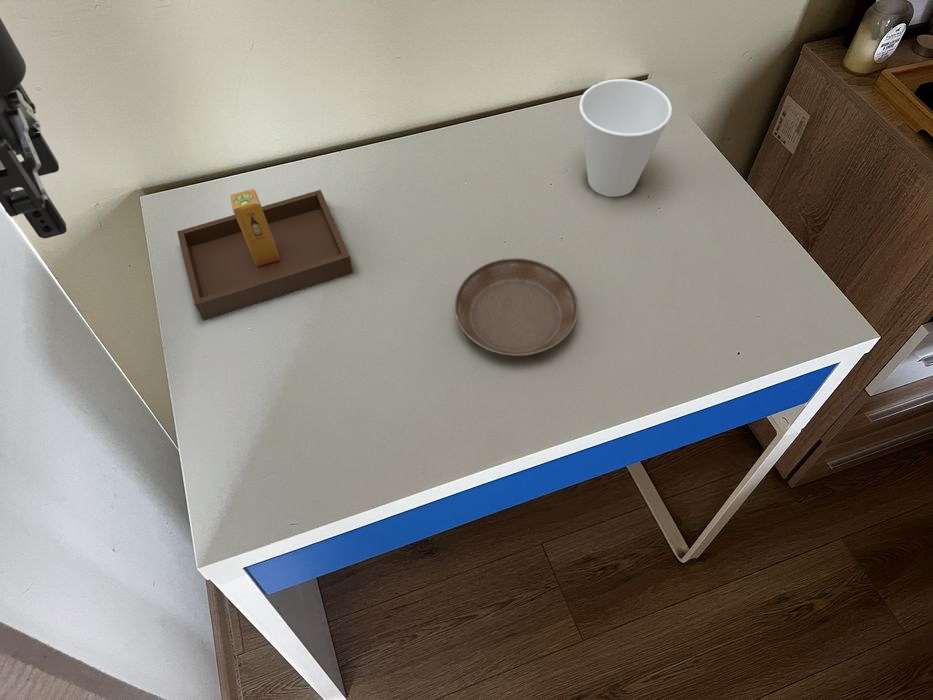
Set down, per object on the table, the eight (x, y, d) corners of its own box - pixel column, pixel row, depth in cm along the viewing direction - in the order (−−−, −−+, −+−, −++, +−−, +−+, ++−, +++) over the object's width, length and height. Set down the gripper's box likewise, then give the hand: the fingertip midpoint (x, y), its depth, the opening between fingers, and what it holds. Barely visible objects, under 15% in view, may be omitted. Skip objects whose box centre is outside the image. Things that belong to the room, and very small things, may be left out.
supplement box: (276, 243, 94) (256, 186, 86) (281, 261, 92) (260, 204, 84) (251, 250, 94) (228, 193, 85) (255, 268, 92) (232, 211, 83)
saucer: (532, 388, 80) (533, 375, 78) (431, 328, 86) (429, 314, 84) (598, 306, 87) (601, 292, 85) (501, 255, 93) (501, 241, 90)
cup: (651, 154, 103) (669, 79, 93) (656, 211, 96) (675, 137, 86) (570, 151, 104) (579, 76, 94) (569, 207, 97) (578, 133, 87)
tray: (203, 320, 88) (194, 304, 85) (185, 247, 95) (176, 231, 92) (353, 272, 92) (349, 256, 89) (324, 206, 99) (320, 189, 96)
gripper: (-118, -15, 51) (3, 164, 64) (-133, 90, 43) (8, 269, 56) (-8, -36, 53) (88, 143, 66) (-3, 62, 45) (104, 243, 58)
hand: (51, 201), depth 61 cm, fingers open, 8 cm apart
